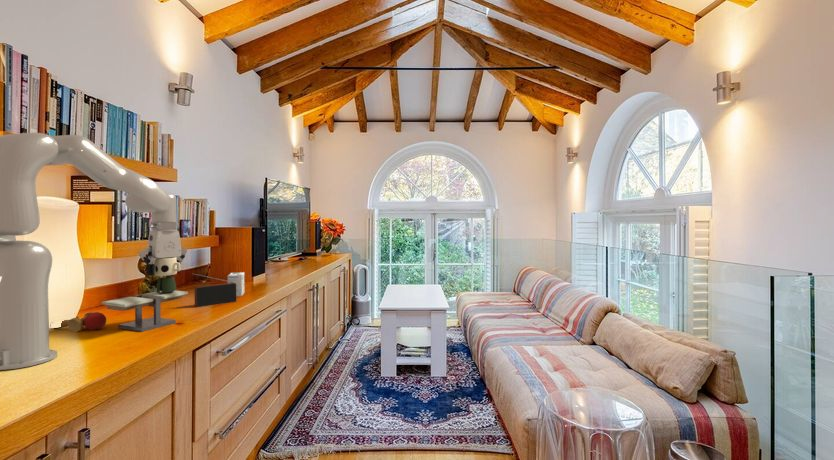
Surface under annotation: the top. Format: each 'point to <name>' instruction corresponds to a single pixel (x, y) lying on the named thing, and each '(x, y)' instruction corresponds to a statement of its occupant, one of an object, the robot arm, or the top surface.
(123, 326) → the stand
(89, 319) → the kendama
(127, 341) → the top surface
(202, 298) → the radio
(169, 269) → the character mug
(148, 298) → the beam
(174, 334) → the top surface
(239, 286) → the light bulb box
